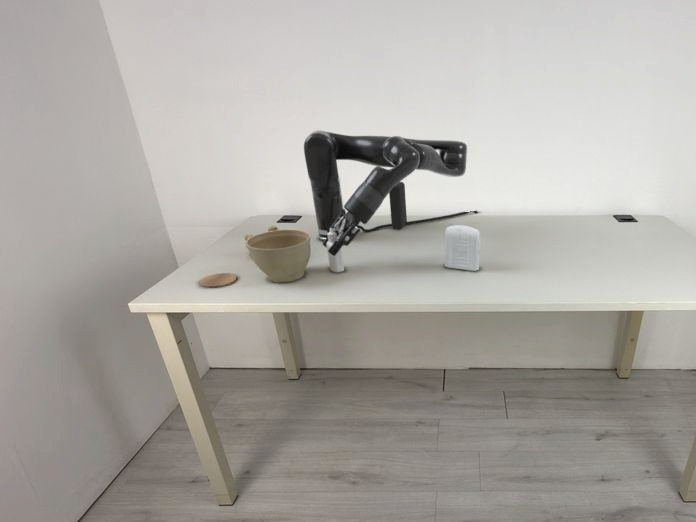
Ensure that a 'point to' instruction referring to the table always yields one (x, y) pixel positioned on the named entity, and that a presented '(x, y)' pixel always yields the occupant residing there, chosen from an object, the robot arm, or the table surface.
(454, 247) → the white arched tombstone
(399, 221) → the card reader
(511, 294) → the table surface
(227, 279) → the cork coaster
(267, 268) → the planter bowl
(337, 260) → the eye dropper bottle
